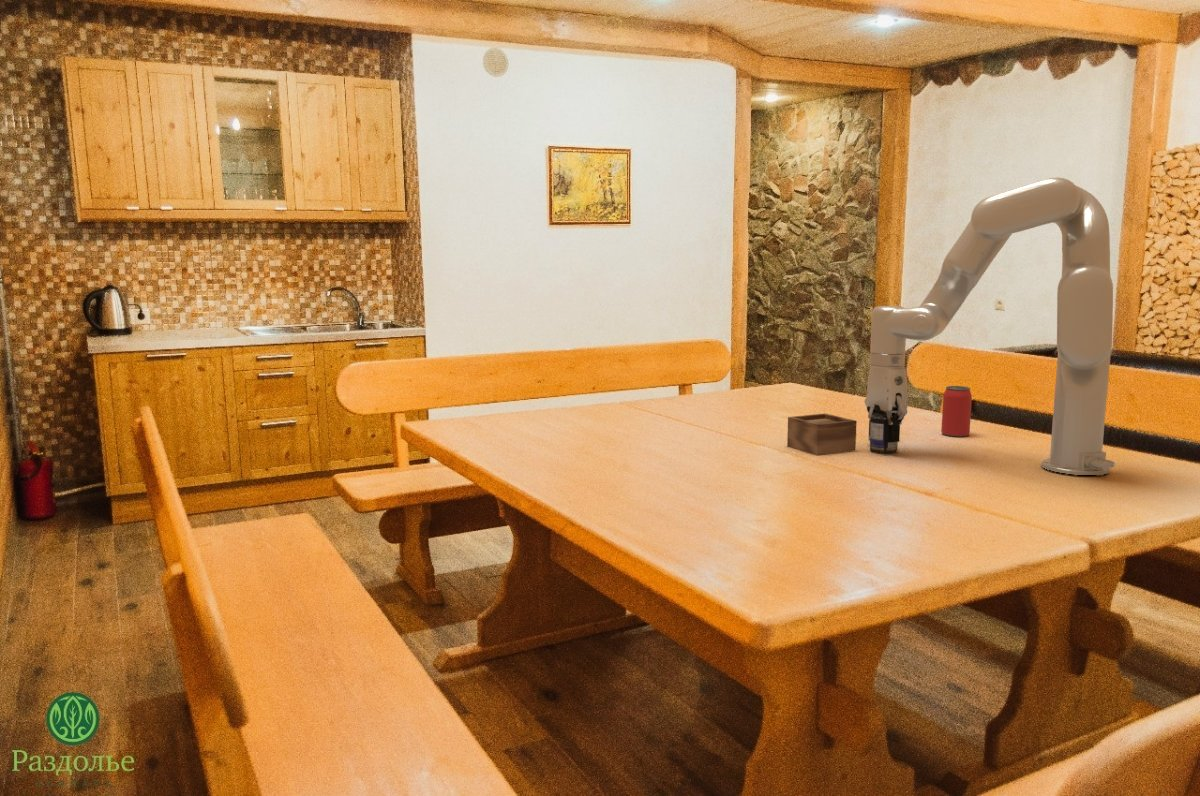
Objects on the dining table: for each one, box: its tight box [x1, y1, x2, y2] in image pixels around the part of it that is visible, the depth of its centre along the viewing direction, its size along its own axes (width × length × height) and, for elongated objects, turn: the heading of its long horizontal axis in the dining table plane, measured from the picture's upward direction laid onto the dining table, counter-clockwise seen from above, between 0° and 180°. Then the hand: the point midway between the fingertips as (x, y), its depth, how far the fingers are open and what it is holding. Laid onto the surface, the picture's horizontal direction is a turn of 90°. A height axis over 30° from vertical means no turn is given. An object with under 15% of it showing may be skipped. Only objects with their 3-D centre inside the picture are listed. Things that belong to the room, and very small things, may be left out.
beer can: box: [940, 385, 973, 438], centre depth 223 cm, size 7×7×12 cm
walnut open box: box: [786, 413, 858, 456], centre depth 208 cm, size 11×11×7 cm
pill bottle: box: [869, 404, 899, 455], centre depth 204 cm, size 6×6×11 cm
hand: (883, 438), depth 205 cm, fingers closed on pill bottle, 6 cm apart
